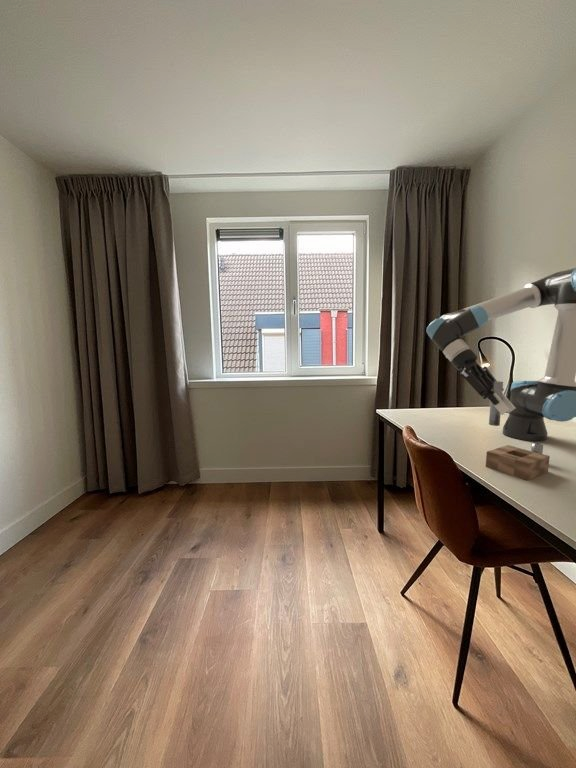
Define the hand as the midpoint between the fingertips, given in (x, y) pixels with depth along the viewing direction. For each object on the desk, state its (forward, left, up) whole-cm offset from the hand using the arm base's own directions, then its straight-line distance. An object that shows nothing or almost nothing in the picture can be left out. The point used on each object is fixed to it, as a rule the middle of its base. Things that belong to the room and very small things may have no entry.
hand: (508, 411), depth 104 cm
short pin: (-13, +3, -18) cm, 22 cm away
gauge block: (-1, +3, -18) cm, 18 cm away
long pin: (0, -4, -5) cm, 6 cm away
